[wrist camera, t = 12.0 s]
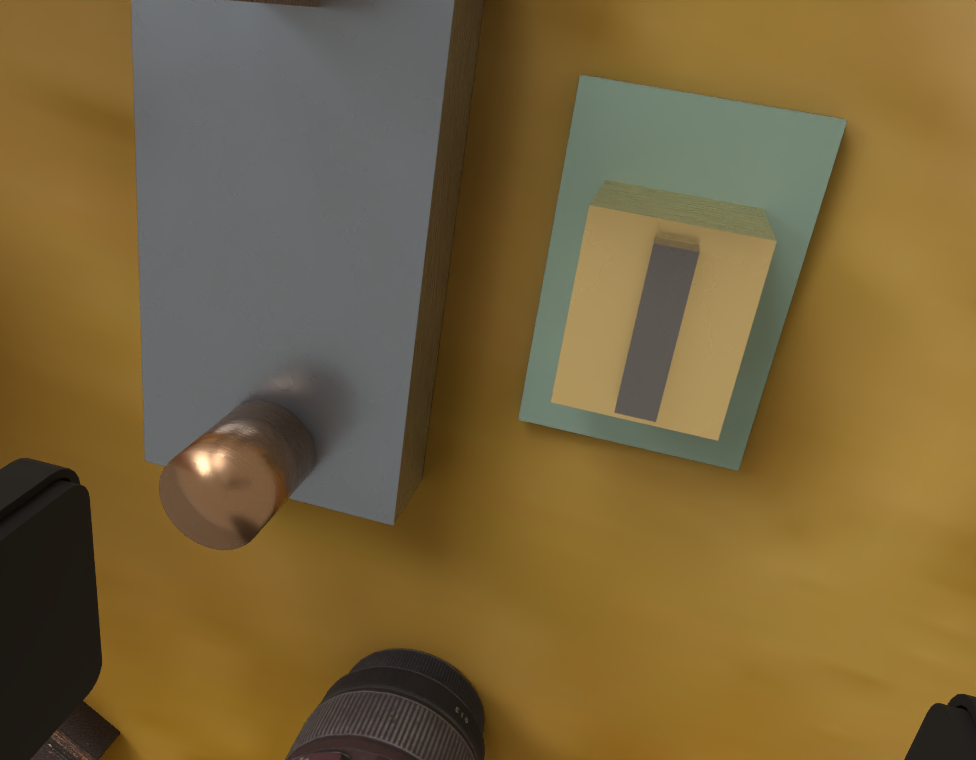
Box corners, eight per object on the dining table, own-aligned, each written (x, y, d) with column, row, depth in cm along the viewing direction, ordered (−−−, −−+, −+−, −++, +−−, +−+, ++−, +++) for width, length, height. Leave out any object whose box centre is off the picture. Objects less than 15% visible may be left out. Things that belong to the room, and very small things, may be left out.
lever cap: (605, 179, 27) (586, 210, 22) (763, 209, 26) (779, 248, 21) (570, 351, 29) (546, 413, 24) (714, 382, 28) (718, 453, 23)
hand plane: (193, -126, 27) (-44, -204, 18) (494, -84, 25) (392, -146, 17) (194, 422, 35) (32, 548, 26) (422, 479, 33) (327, 632, 25)
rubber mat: (583, 74, 26) (579, 75, 26) (842, 118, 25) (847, 121, 24) (522, 410, 31) (518, 419, 30) (737, 460, 30) (738, 470, 29)
